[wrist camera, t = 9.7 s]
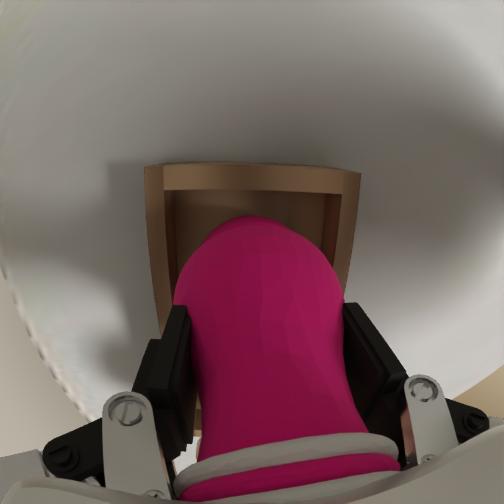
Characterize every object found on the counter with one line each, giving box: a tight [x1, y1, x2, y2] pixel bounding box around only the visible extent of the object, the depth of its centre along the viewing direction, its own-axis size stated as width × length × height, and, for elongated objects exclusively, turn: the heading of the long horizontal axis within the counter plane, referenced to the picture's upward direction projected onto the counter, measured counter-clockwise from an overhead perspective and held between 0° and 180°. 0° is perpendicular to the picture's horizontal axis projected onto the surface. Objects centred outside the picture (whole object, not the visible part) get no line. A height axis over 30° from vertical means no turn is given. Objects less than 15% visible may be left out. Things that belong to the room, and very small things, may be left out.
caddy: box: [144, 162, 361, 437], centre depth 18 cm, size 11×22×4 cm, turn 178°
